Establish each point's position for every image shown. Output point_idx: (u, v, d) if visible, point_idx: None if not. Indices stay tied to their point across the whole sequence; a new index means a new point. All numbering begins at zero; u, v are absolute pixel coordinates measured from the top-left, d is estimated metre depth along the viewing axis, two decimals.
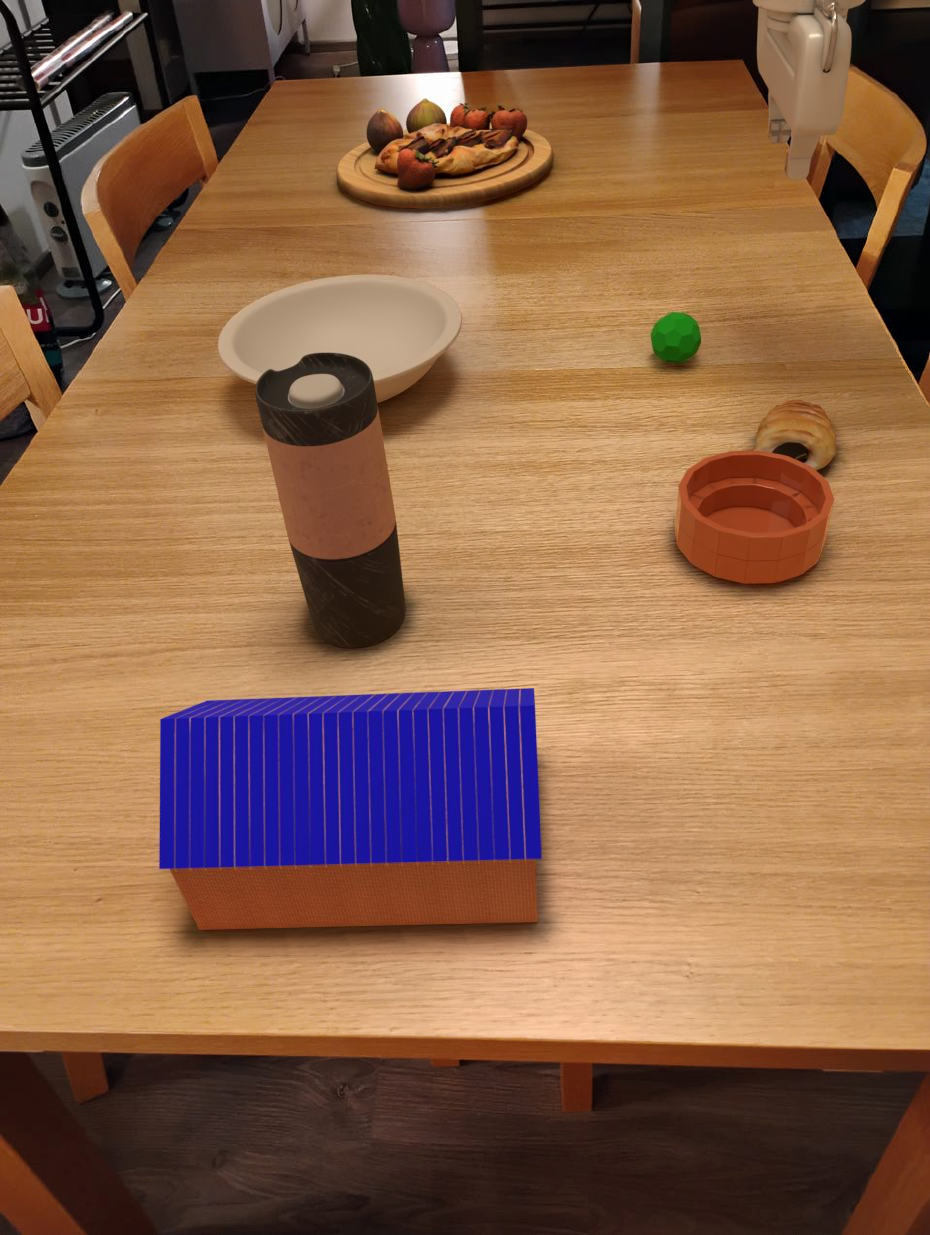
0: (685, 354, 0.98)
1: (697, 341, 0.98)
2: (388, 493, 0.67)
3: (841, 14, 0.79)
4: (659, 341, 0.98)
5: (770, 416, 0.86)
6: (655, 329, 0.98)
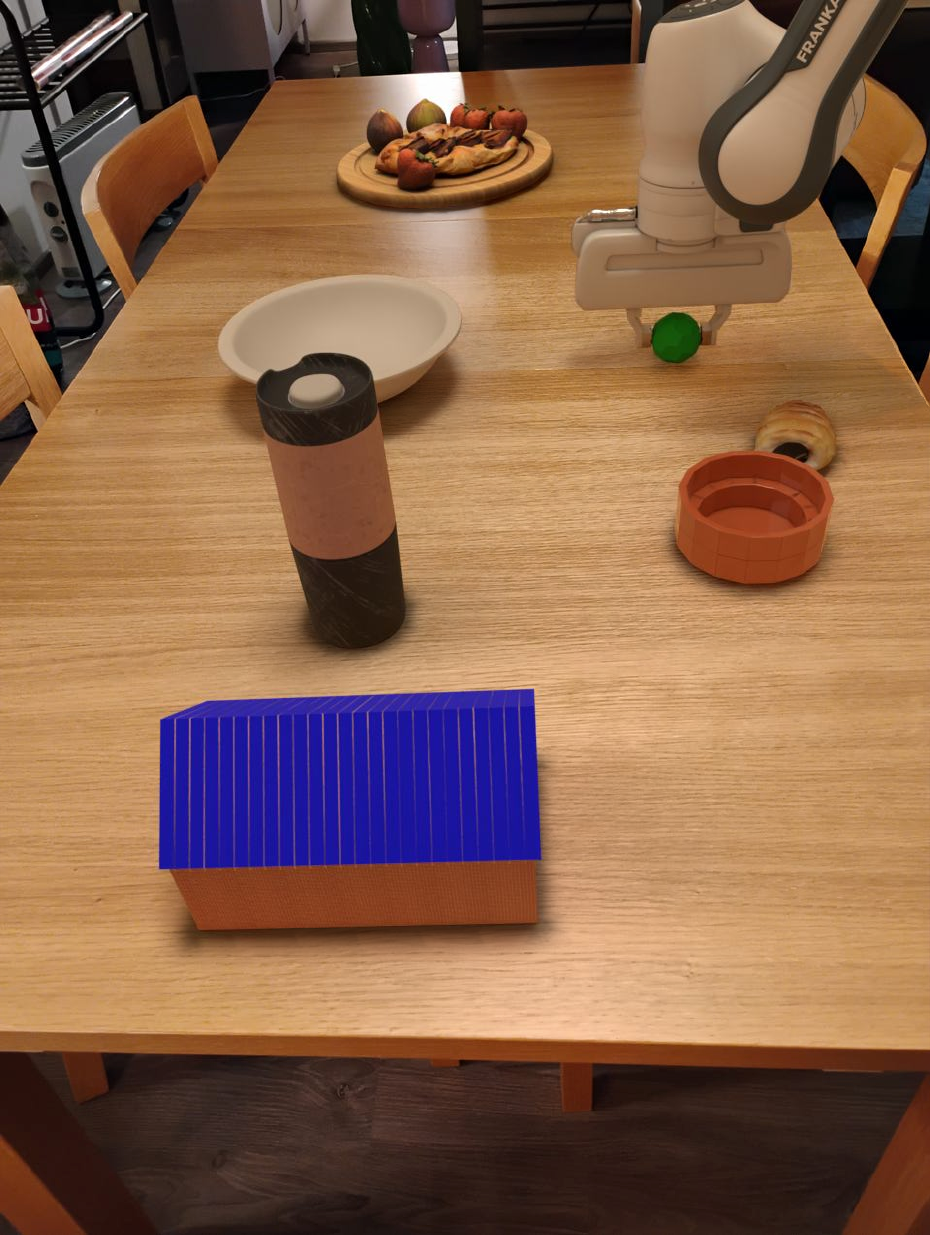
0: (685, 354, 0.98)
1: (697, 341, 0.98)
2: (388, 493, 0.67)
3: (662, 240, 0.90)
4: (659, 341, 0.98)
5: (770, 416, 0.86)
6: (655, 329, 0.98)
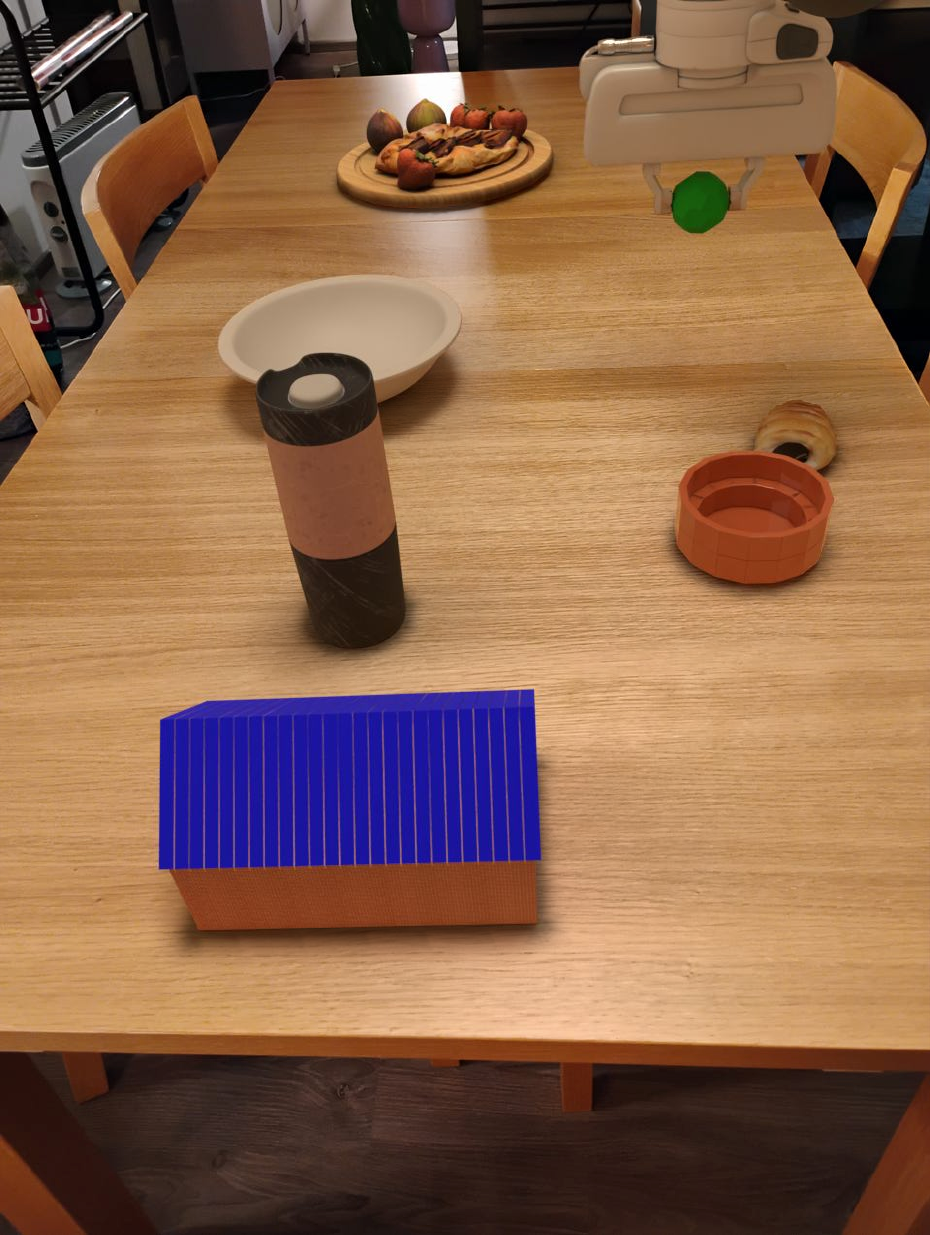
0: (711, 219, 0.85)
1: (724, 204, 0.85)
2: (388, 493, 0.67)
3: (685, 73, 0.78)
4: (681, 204, 0.85)
5: (770, 416, 0.86)
6: (676, 192, 0.85)
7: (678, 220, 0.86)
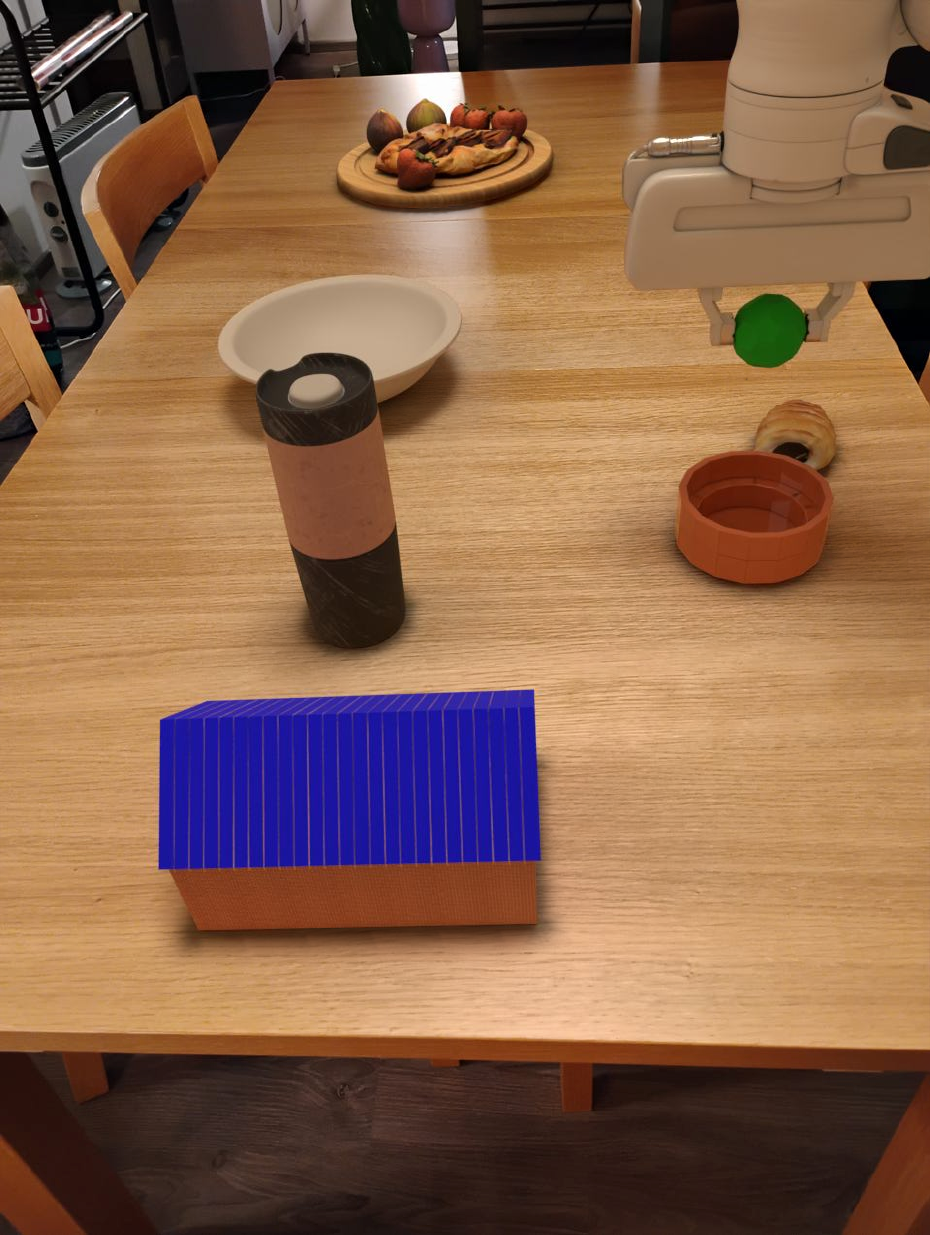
0: (784, 354, 0.68)
1: (801, 336, 0.67)
2: (388, 493, 0.67)
3: (761, 183, 0.60)
4: (746, 335, 0.68)
5: (770, 416, 0.86)
6: (740, 319, 0.68)
7: (741, 353, 0.69)
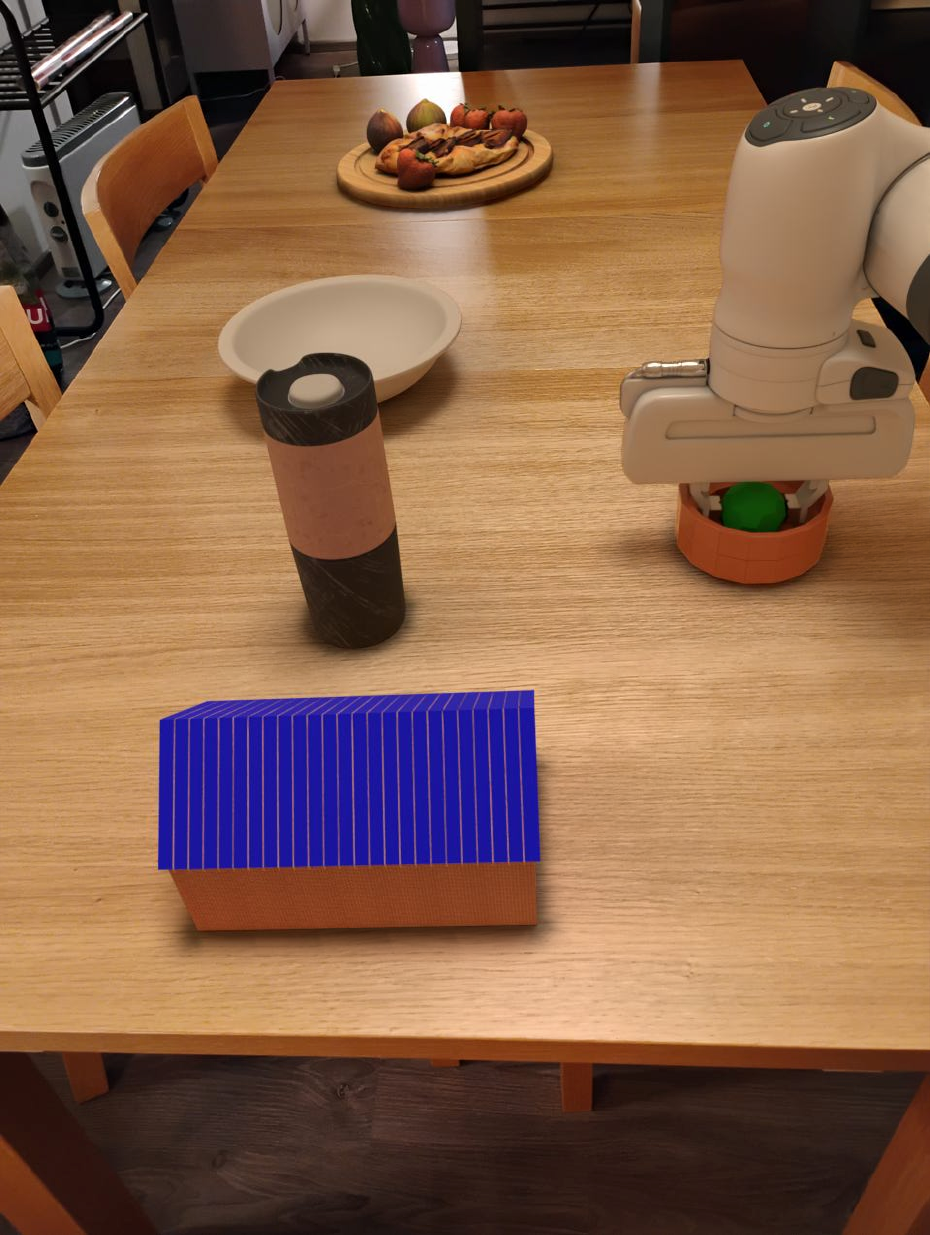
0: None
1: (781, 520, 0.75)
2: (388, 493, 0.67)
3: None
4: (732, 519, 0.75)
5: None
6: (727, 504, 0.76)
7: None
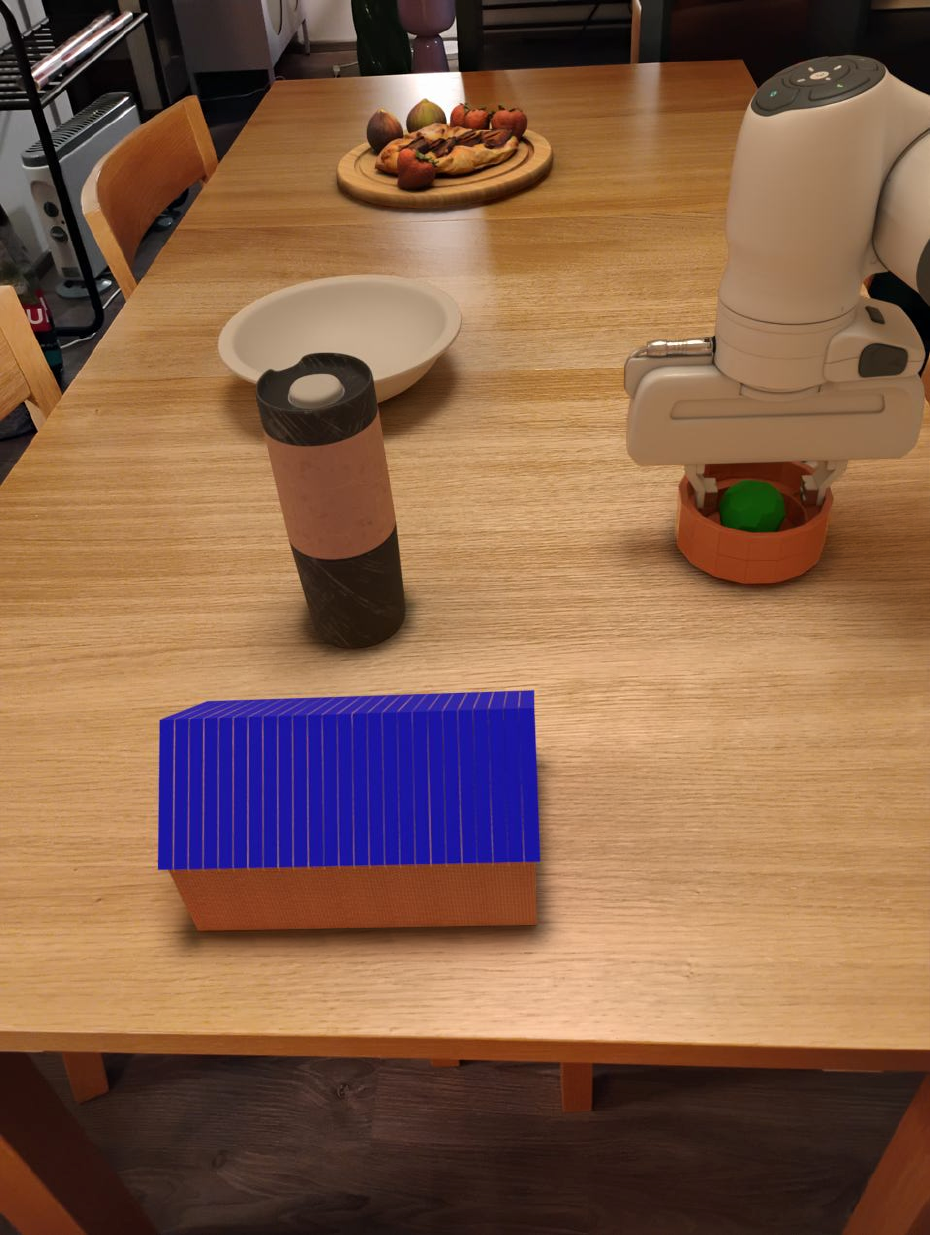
0: None
1: (781, 519, 0.75)
2: (388, 493, 0.67)
3: None
4: (731, 518, 0.75)
5: None
6: (726, 503, 0.76)
7: None
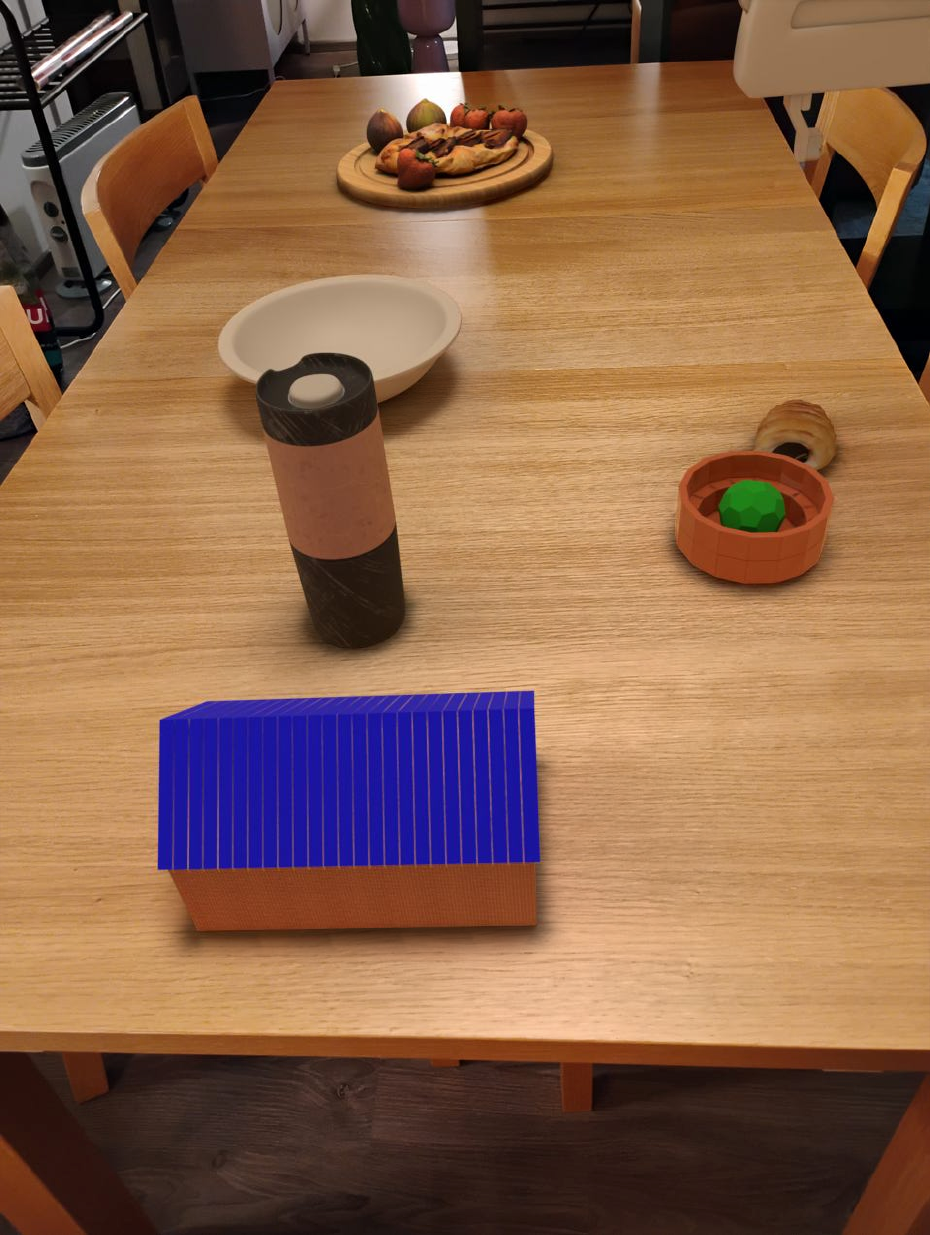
0: None
1: (781, 519, 0.75)
2: (388, 493, 0.67)
3: None
4: (731, 518, 0.75)
5: (770, 416, 0.86)
6: (726, 503, 0.76)
7: None
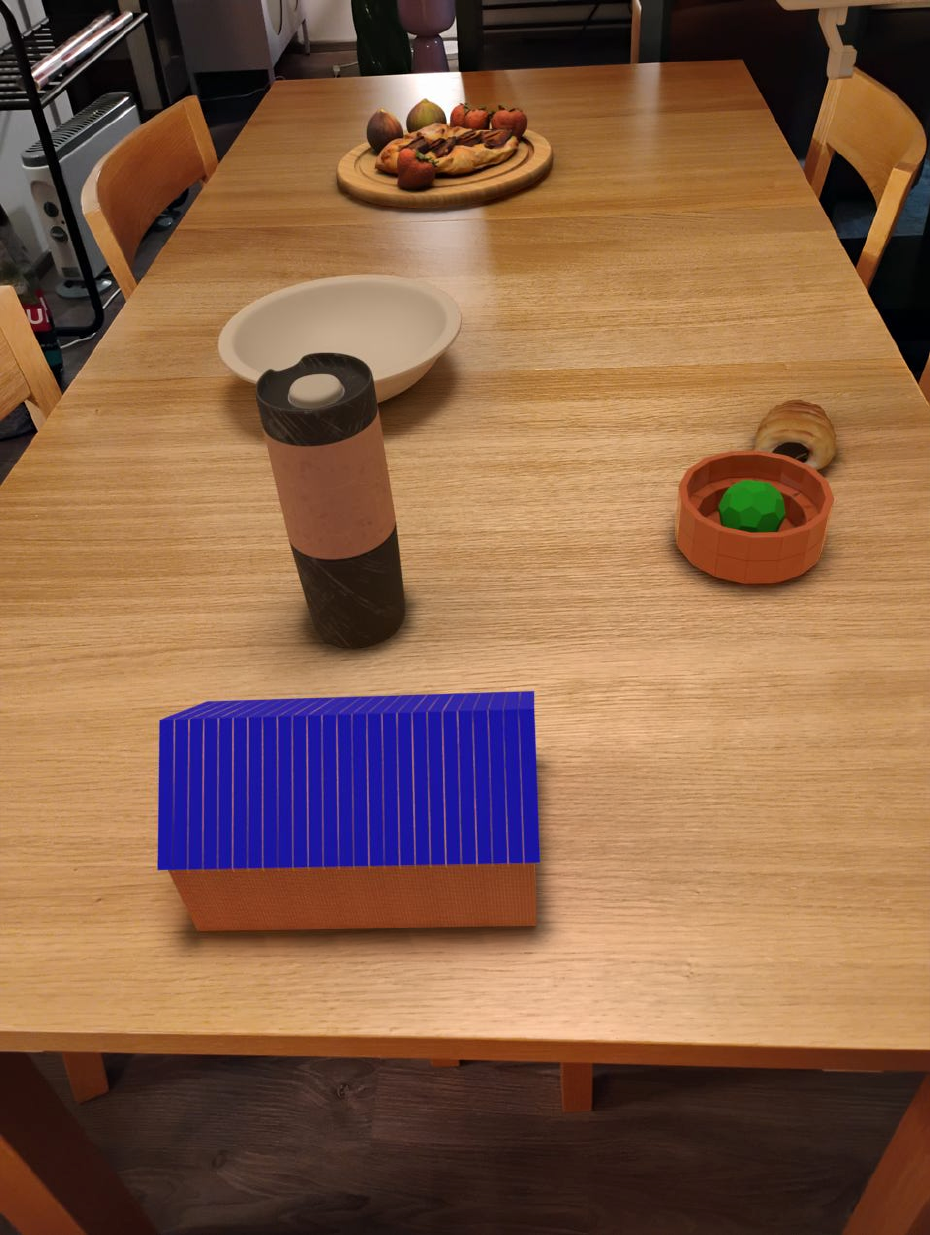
0: None
1: (781, 519, 0.75)
2: (388, 493, 0.67)
3: None
4: (731, 518, 0.75)
5: (770, 416, 0.86)
6: (726, 503, 0.76)
7: None
